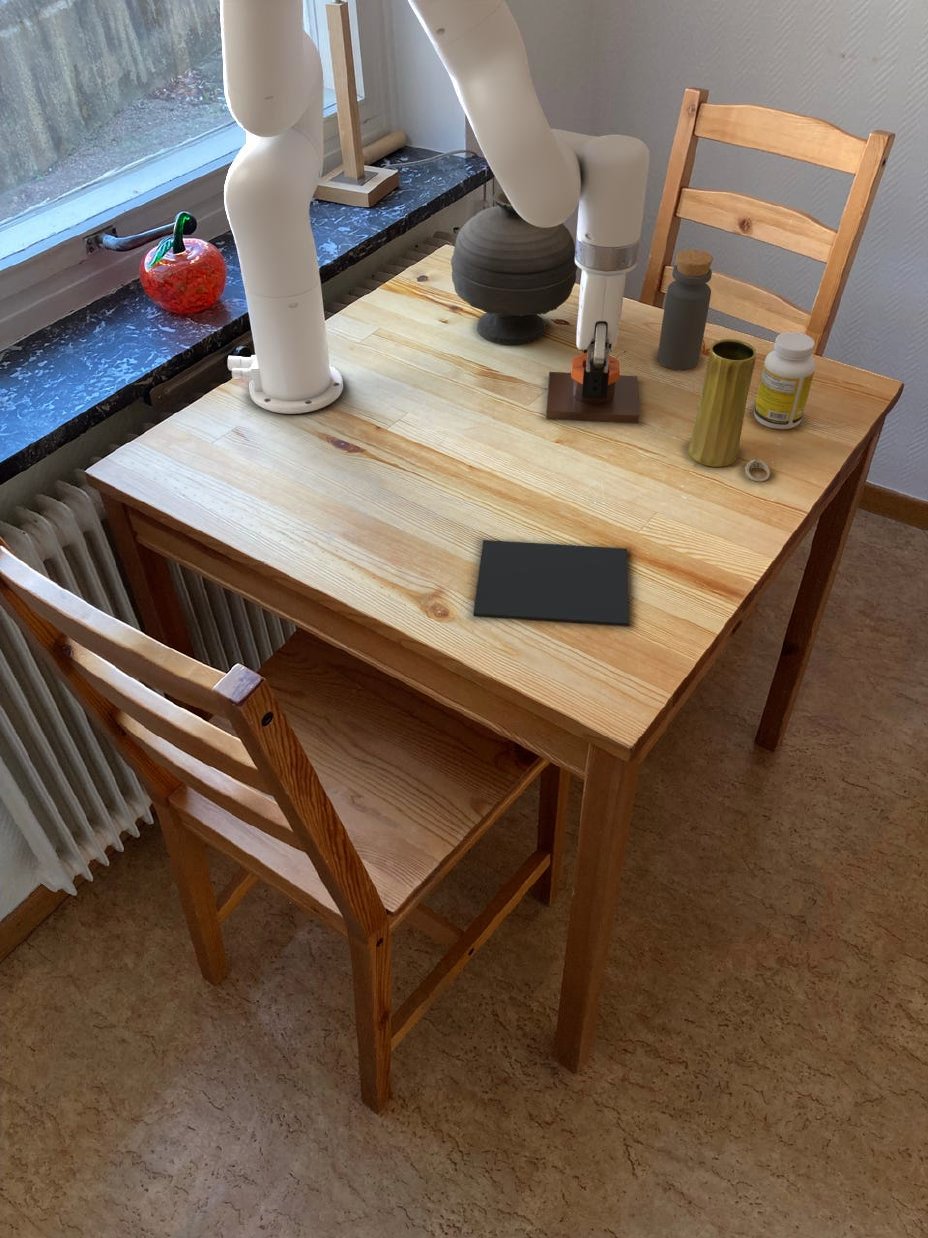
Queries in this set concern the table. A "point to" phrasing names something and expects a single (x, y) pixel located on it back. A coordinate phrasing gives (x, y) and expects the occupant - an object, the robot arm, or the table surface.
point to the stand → (592, 400)
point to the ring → (758, 465)
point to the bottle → (686, 311)
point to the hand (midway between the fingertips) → (594, 381)
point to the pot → (512, 272)
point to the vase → (722, 403)
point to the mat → (553, 583)
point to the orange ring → (580, 364)
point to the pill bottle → (785, 381)
